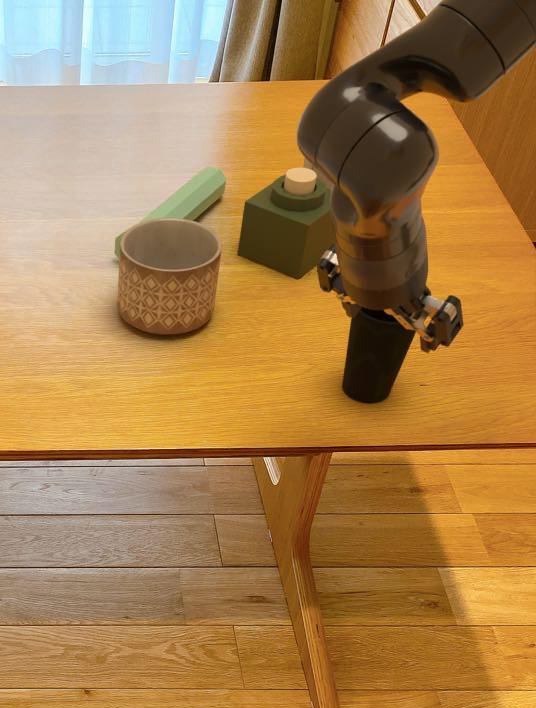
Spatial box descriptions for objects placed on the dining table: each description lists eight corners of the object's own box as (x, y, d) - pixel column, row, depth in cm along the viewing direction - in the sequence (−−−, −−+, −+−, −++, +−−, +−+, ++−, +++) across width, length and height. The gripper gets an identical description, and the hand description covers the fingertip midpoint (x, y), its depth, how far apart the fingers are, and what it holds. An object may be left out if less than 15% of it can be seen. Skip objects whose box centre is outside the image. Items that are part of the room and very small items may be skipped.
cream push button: (319, 187, 137) (322, 173, 135) (303, 199, 135) (306, 184, 133) (294, 178, 139) (296, 164, 137) (277, 190, 137) (280, 175, 135)
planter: (138, 278, 141) (142, 209, 133) (226, 299, 137) (235, 229, 129) (101, 327, 134) (104, 257, 126) (193, 351, 129) (201, 279, 122)
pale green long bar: (209, 151, 153) (123, 222, 139) (240, 175, 152) (157, 248, 138) (192, 182, 157) (107, 253, 144) (222, 205, 157) (140, 279, 143)
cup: (387, 416, 119) (413, 331, 110) (324, 397, 122) (344, 312, 113) (406, 380, 123) (433, 295, 115) (344, 362, 126) (366, 278, 117)
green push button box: (337, 249, 144) (352, 183, 136) (298, 279, 139) (311, 212, 132) (276, 226, 149) (287, 161, 141) (237, 254, 144) (246, 188, 137)
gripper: (481, 245, 87) (478, 325, 101) (335, 186, 94) (352, 269, 108) (430, 318, 87) (434, 387, 102) (289, 254, 94) (311, 328, 108)
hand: (392, 326), depth 105 cm, fingers open, 8 cm apart
